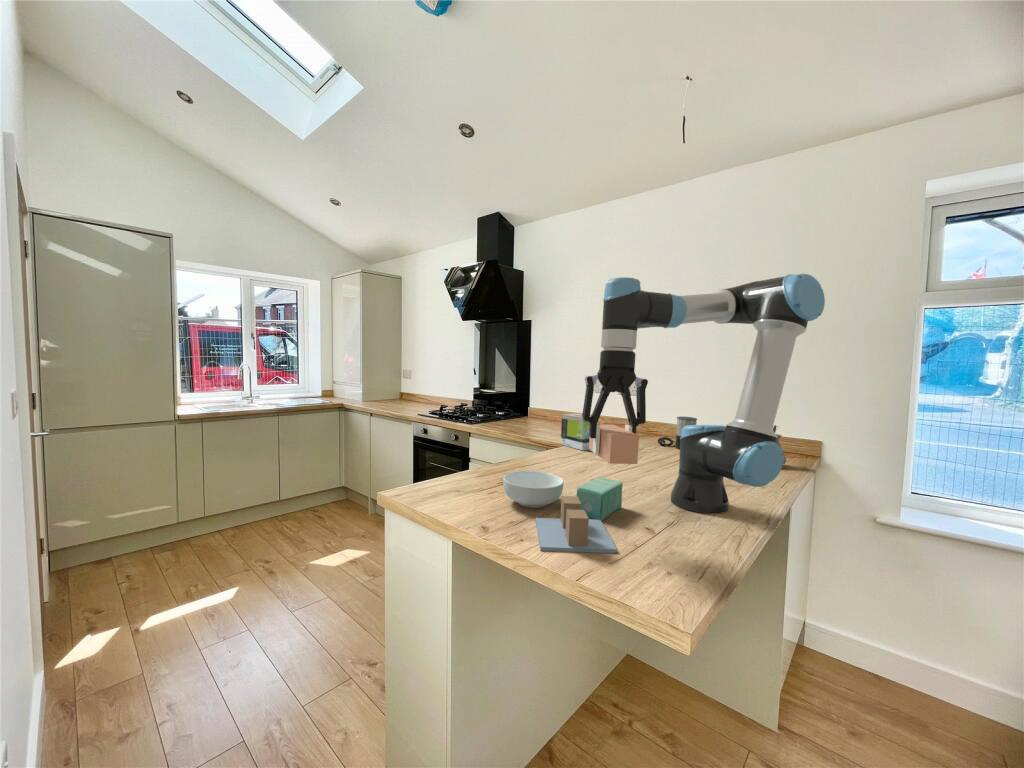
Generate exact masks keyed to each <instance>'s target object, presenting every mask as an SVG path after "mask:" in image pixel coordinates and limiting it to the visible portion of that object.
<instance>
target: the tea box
mask: <svg viewBox="0 0 1024 768" xmlns="http://www.w3.org/2000/svg"><path fill="white" fill-rule="evenodd" d="M597 423H598V424H599V420H598V422H597ZM560 427H561V429H560V445H562V446H565V447H569V448H573V449H576V450H581V451H591V450H590V449H589V438H590V435H589V433H590V423H589V422H588V421H585V420H584V419H583V418H582V414H580V413H567V414H566V413H565V414H561V426H560Z"/></svg>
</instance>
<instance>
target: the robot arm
mask: <svg viewBox="0 0 1024 768" xmlns="http://www.w3.org/2000/svg"><path fill="white" fill-rule="evenodd" d="M825 297H826V296H825V293H824V290H823V288H822V284H821V283H820V282H819V281H818V280H817V278H815V277H814V275H813V276H812V275H811V274H808V273H796V274H787V275H785V276H780V277H774V278H773V277H772V278H769V279H763V280H756V281H751V282H748V283H744V284H741V285H736V286H733V287H728V288H720V289H716V290H715V291H714V292H712V293H703V294H689V295H688V294H687V295H677V294H672V293H670V292H669V293H663V292H653V291H645V290H642V288H641V281H640V280H639V279H637V278H635V277H628V276H627V277H626V276H623V277H621V276H619V277H614V278H610V279H609V280H607V281H606V283H605V288H604V292H603V299H602V300H603V301H602V302H603V308H602V309H603V311H602V327H601V330H602V331H601V342H600V347H601V348H602V349H603V350H601V351H600V352H599V353H600V355H599V370H598V372H597V373H596V374H594V375H593V374H592V375H585V377H584V380H585V386H586V388H585V394H584V401H583V408H582V414H581V415H582V418H583V419H584V420H585V421H588V422H589V423H590V433H589V435H590V438H594V439H593V452H592V453H594V455H597V454H599V443H600V428H601V425H600V424H599V421H598V420H599V419H600V417H601V414H602V412H603V410H604V406H605V404H606V402H607V400H608V397H609V396H610V394H611V393H620V395H621V398H622V401H623V405H624V409H625V413H626V417H627V421H628V424H624V429H625V430H628V431H630V432H632V433H635V434H637V427H638V426H639V425H642V424H643V425H644V424H646V418H647V415H646V408H647V407H646V405H647V404H646V402H647V401H646V389H647V386H648V383H649V380H648V379H647V378H642V377H637V374H636V372H635V366H636V354H637V353H635V351H634V350H636V349H637V337H638V329H648V328H664V329H668V328H669V329H670V328H673V329H674V328H677V327H679V326H681V325H685V324H695V323H697V324H698V323H705V322H714V323H716V324H721V325H722V324H742V325H746V324H747V325H752V326H753V327H754V329H755V330H756V331H757V335H756V337H755V340H754V341H755V342H754V345H753V349H752V353H751V356H750V360H749V365H748V368H747V371H746V376H745V379H744V382H743V387H742V390H741V394H740V397H739V402H738V405H737V410H736V412H735V417H734V419H733V420H731V421H730V422H728V423H726V425H722V424H696V425H686V426H684V427H683V428H682V433H681V438H680V449H679V462H678V463H679V466H678V467H679V468H678V476H677V479H676V480H675V483H674V485H673V488H672V490H671V493H670V502H671V503H673V504H674V505H675V506H677V507H678V508H681V509H683V510H687V511H690V512H691V511H692V512H695V513H701V514H711V515H712V514H713V515H715V514H716V515H717V514H723V513H726V512H728V511H729V506H730V503H729V502H730V501H729V498H728V494H727V490H726V486H725V482H724V478H725V479H727V480H732V481H734V482H737V483H738V484H742V485H745V486H746V485H747V486H750V487H755V488H760V487H765V486H767V485H769V484H770V483H771V482H773V481H775V479H776V478H778V476H779V474H780V473H781V471H782V468H783V466H784V465H783V462H784V456H785V455H784V456H783V455H782V453H784V451H783V449H781V448H782V447H781V448H780V446H781V445H780V446H778V445H777V444H776V442H777V438H778V437H777V435H776V434H777V433H776V432H774V431H773V427H774V426H775V425H774V423H775V420H776V416H777V413H778V409H779V406H780V402H781V397H782V394H783V391H784V390H783V389H784V387H785V383H786V378H787V374H788V372H789V371H788V370H789V367H790V363H791V360H792V355H793V352H794V348H795V344H796V340H797V337H799V336H801V335H803V334H804V333H806V330H807V327H808V322H812V321H814V320H816V319H818V318H819V317H820V316H821V315H822V314H823V312H824V309H825V303H826V301H825V300H826V298H825ZM597 382H599V383H600V386H602V387H601V389H600V392H599V395H598V398H597V400H596V403H595V406H594V409H593V411H592V413H591V410H592V405H593V397H594V392H595V385H596V384H597ZM632 384H634V386H635V387H636V390H635V391H636V394H635V395H636V412H635V409H634V405H633V400H632V395H631V391H630V387H631V386H632ZM597 422H598V423H597ZM673 504H672V505H673Z"/></svg>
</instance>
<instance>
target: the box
mask: <svg viewBox="0 0 1024 768" xmlns="http://www.w3.org/2000/svg"><path fill="white" fill-rule="evenodd" d="M576 497H578V498H579V500H580V502H581V510H585V512H586V514H587V516H588V518H589V519H591V520H600V521H601V522H603V521H604V520H605V519H607V518H608V517H609V516H611V515H612V514H613V513H615V512H616V511H618V510H619V509H621V507H622V504H623V503H622V502H623V499H622V498H623V482H622V481H619V480H614V479H611V478H605V477H601V476H599V477H596V478H594V479H593V480H590V481H587V482H585V483H584V484H581V485H580V486H578V487H577V489H576Z"/></svg>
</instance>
